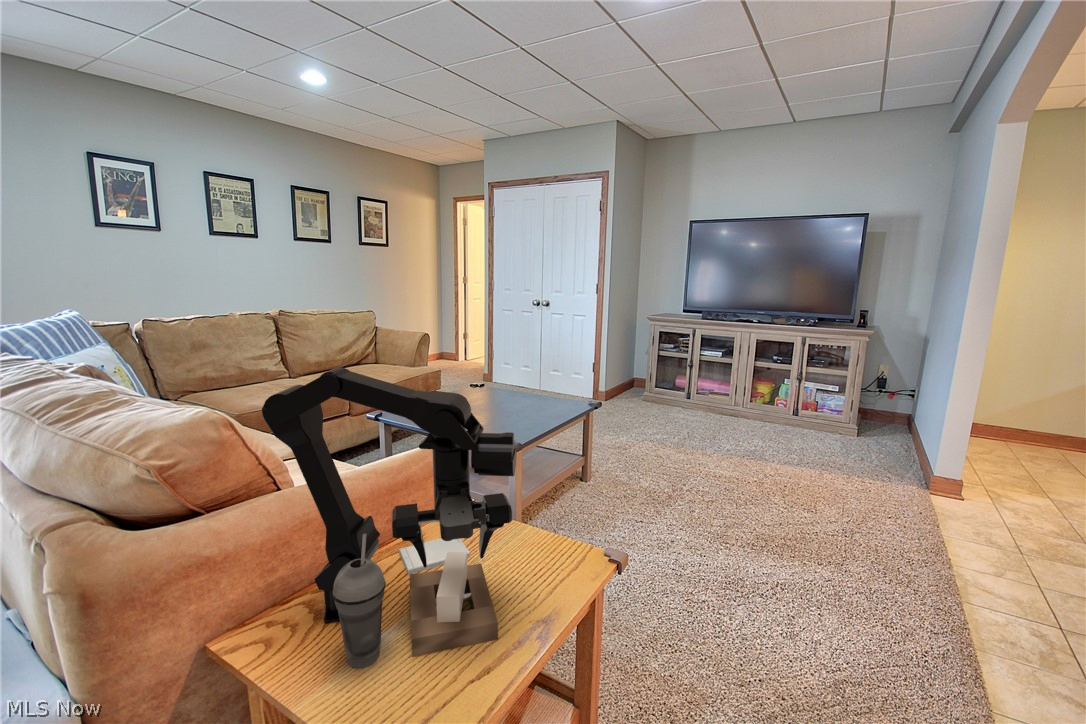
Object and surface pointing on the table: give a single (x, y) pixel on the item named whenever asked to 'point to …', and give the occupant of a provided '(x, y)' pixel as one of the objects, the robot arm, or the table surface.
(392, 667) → the table surface
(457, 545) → the hard drive
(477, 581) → the brown square frame
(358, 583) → the beverage cup
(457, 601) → the cream block
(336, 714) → the table surface
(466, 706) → the table surface
